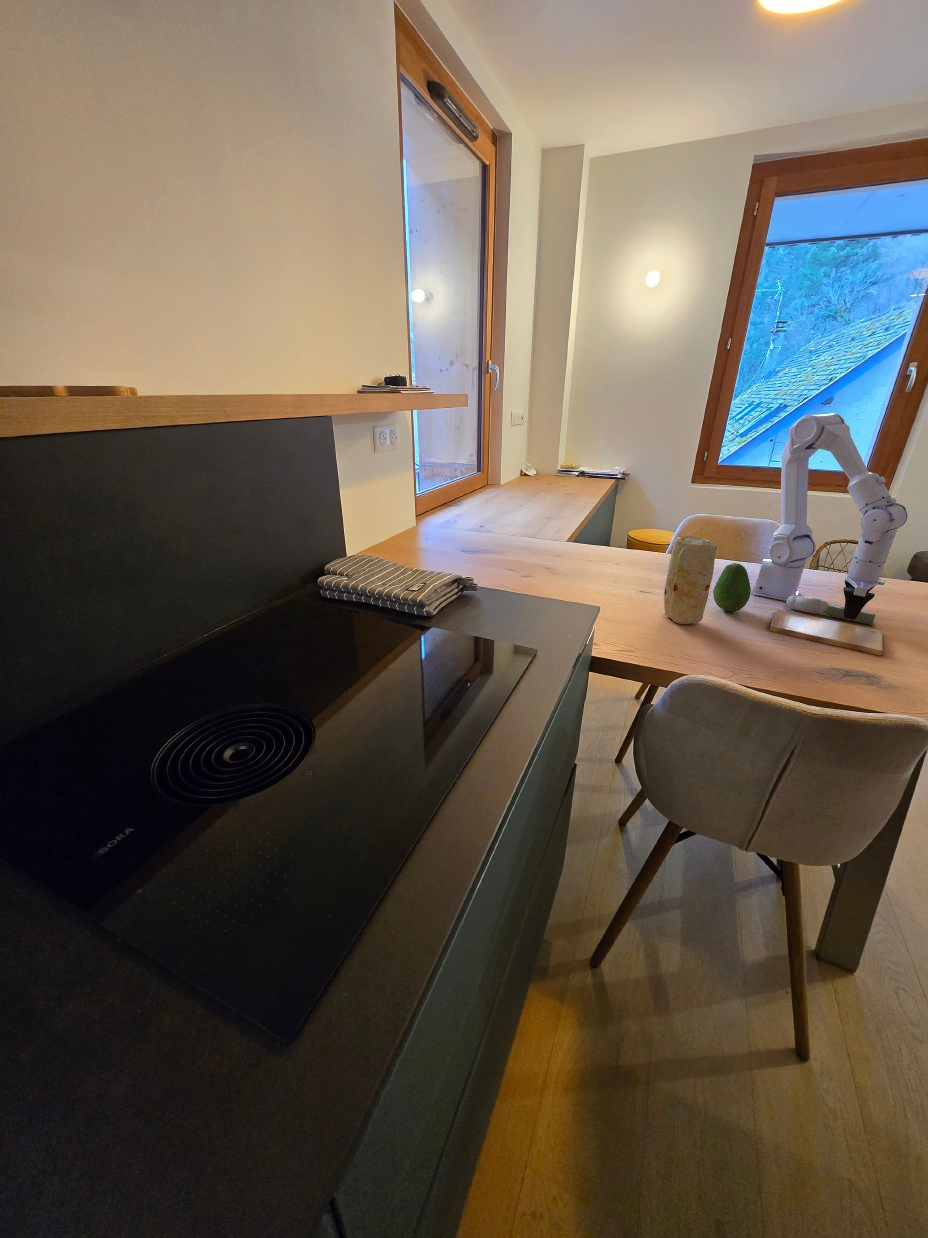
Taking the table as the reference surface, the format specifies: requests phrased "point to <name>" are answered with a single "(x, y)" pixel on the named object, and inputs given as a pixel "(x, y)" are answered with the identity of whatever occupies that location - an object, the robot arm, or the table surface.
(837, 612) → the green-handled cylinder
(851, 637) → the board
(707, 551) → the food model
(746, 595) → the avocado
